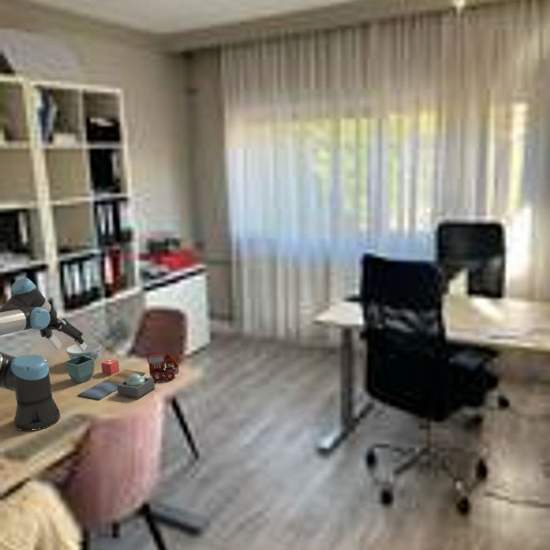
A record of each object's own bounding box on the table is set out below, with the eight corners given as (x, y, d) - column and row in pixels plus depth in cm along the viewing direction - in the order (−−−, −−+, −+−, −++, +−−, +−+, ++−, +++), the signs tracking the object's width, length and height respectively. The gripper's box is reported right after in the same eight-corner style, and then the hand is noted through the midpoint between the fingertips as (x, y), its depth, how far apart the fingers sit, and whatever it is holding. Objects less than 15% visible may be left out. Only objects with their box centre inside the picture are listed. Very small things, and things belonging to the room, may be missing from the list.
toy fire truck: (179, 379, 239) (177, 355, 236) (148, 383, 237) (146, 358, 234) (179, 373, 245) (177, 350, 243) (149, 376, 243) (147, 353, 241)
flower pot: (79, 386, 237) (76, 365, 235) (66, 381, 242) (63, 361, 240) (97, 379, 243) (94, 358, 242) (84, 374, 249) (82, 355, 247)
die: (111, 375, 246) (110, 364, 245) (102, 374, 249) (101, 362, 248) (119, 371, 251) (118, 360, 250) (110, 369, 253) (109, 358, 252)
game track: (99, 400, 222) (99, 398, 222) (77, 396, 227) (77, 394, 227) (145, 373, 246) (145, 372, 246) (125, 370, 251) (125, 369, 251)
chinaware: (71, 372, 252) (69, 355, 251) (65, 362, 265) (63, 346, 264) (106, 364, 259) (104, 348, 258) (99, 355, 272) (97, 339, 271)
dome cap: (137, 391, 223) (136, 378, 221) (123, 388, 226) (121, 376, 225) (148, 384, 229) (147, 372, 228) (134, 381, 232) (133, 370, 231)
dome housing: (138, 399, 221) (137, 388, 220) (118, 395, 225) (116, 384, 224) (154, 389, 230) (153, 378, 229) (134, 385, 234) (133, 375, 233)
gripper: (72, 305, 218) (100, 341, 231) (25, 304, 229) (54, 339, 242) (61, 320, 213) (90, 356, 226) (14, 318, 224) (44, 353, 237)
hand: (72, 347), depth 234 cm, fingers open, 13 cm apart
